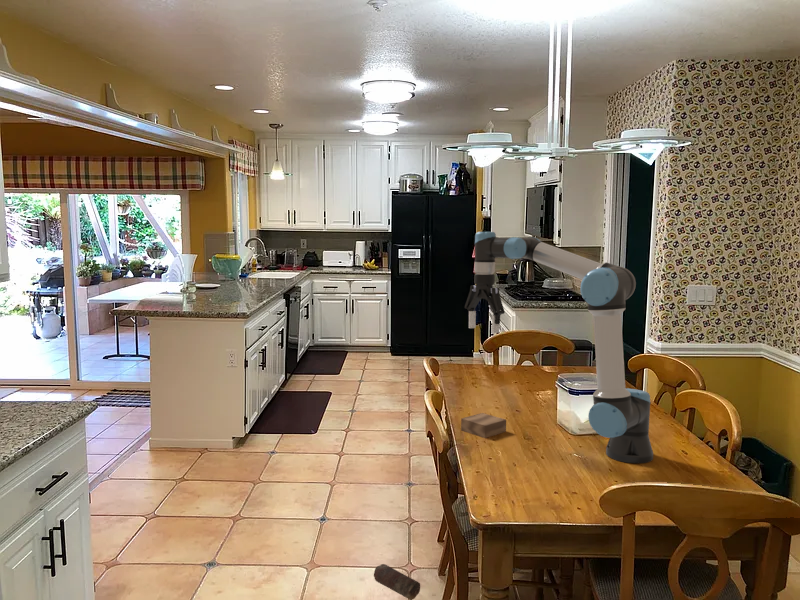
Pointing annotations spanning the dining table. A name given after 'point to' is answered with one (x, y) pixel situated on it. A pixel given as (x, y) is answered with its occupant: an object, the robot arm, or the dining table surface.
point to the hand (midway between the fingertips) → (483, 330)
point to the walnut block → (483, 425)
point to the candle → (397, 581)
